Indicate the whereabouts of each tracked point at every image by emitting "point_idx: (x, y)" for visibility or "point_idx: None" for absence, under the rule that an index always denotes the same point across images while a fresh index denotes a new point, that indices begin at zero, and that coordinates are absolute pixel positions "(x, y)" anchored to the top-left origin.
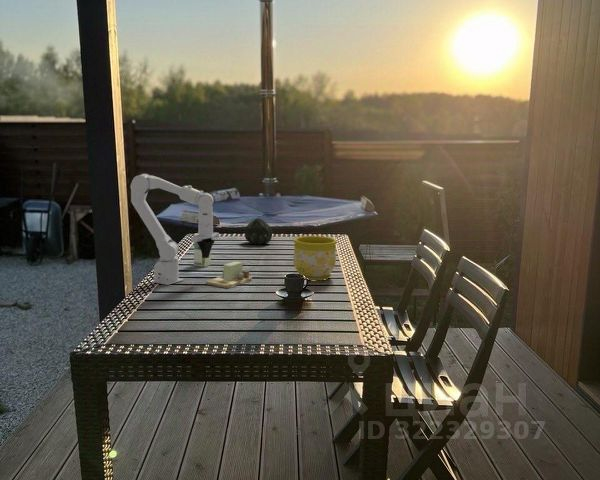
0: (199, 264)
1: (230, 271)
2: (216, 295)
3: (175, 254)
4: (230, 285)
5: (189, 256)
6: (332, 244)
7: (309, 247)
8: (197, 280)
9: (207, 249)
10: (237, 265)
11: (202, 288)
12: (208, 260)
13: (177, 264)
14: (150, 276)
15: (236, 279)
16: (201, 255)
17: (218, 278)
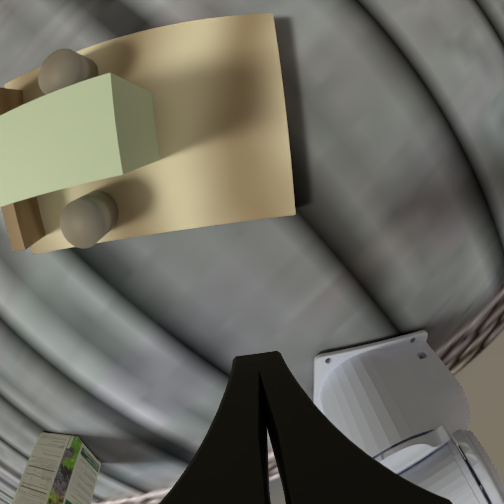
0: (86, 453)
1: (130, 84)
2: (418, 3)
3: (429, 470)
4: (243, 16)
5: None
6: None
7: None
8: (256, 314)
9: (320, 433)
10: (16, 112)
11: (379, 150)
12: (46, 448)
13: (388, 421)
14: None
15: None
16: (71, 479)
17: (169, 208)
